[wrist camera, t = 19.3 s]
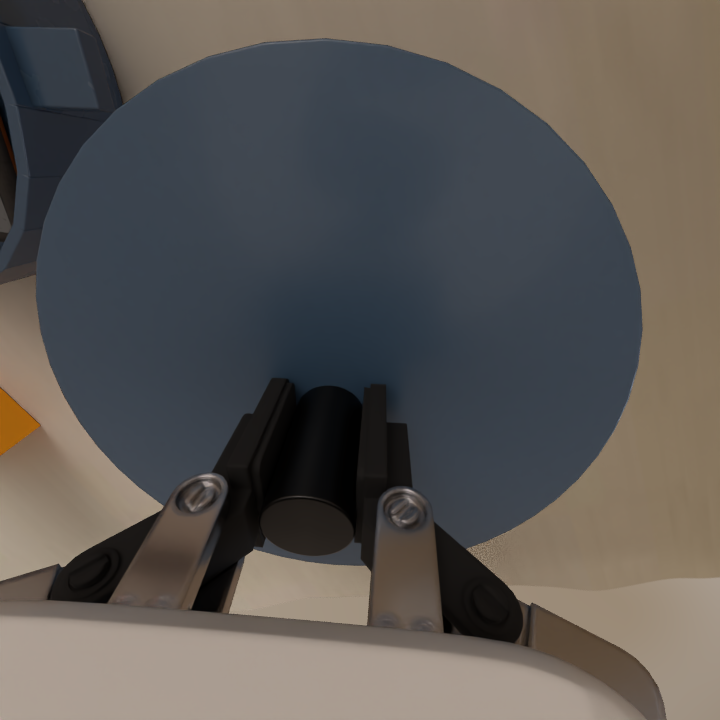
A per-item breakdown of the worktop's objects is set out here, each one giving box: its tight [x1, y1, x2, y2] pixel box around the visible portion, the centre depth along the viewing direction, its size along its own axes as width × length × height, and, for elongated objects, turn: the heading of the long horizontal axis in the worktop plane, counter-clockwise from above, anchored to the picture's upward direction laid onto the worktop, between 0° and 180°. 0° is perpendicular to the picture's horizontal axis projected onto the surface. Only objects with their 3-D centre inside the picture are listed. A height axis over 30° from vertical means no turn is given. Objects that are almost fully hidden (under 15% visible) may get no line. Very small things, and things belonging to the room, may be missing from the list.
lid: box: [36, 38, 642, 566], centre depth 11 cm, size 20×20×6 cm
